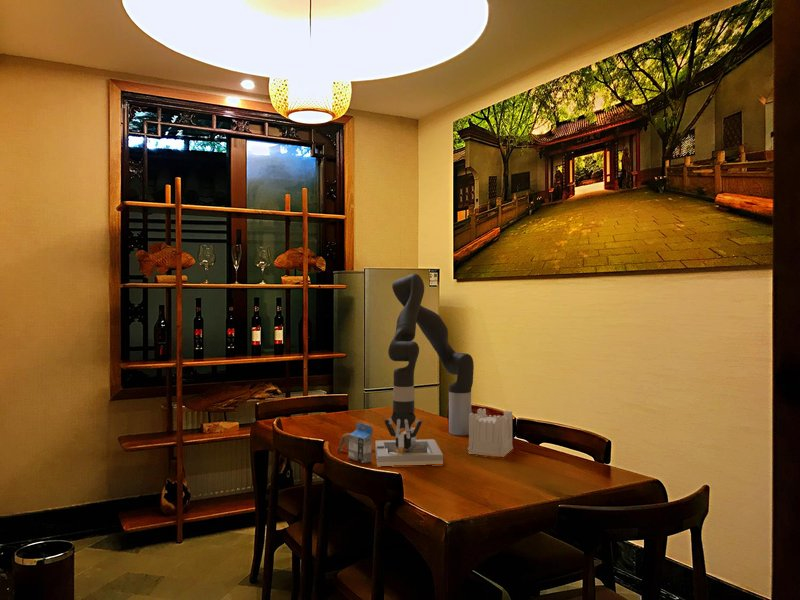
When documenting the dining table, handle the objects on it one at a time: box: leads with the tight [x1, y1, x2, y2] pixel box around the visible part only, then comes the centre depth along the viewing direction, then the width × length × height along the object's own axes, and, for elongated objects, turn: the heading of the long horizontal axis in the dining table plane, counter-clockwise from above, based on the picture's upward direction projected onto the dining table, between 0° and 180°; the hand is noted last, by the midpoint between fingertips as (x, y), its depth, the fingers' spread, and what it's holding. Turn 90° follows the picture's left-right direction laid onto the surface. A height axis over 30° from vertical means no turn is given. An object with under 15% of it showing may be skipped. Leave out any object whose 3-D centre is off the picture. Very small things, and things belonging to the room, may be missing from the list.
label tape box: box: [348, 421, 373, 464], centre depth 208 cm, size 9×4×12 cm, turn 40°
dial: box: [388, 427, 427, 454], centre depth 211 cm, size 14×14×8 cm
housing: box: [374, 438, 444, 468], centre depth 211 cm, size 22×22×4 cm
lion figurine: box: [336, 424, 374, 453], centre depth 220 cm, size 15×5×9 cm, turn 121°
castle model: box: [467, 408, 514, 457], centre depth 218 cm, size 13×15×14 cm
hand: (403, 448), depth 208 cm, fingers closed on dial, 2 cm apart
